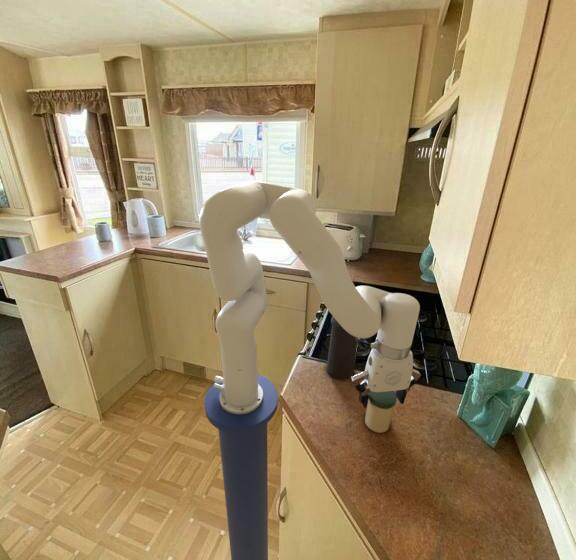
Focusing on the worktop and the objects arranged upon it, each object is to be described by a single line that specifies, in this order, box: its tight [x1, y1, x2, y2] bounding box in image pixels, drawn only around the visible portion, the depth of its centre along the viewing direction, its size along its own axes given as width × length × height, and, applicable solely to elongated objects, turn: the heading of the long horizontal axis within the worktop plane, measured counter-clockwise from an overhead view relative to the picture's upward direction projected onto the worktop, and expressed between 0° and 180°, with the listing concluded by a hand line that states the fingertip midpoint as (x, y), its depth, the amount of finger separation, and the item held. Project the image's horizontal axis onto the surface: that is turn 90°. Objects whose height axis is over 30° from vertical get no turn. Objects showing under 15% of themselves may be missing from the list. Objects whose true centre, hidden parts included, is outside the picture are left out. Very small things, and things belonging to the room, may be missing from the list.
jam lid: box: [368, 391, 398, 409], centre depth 78 cm, size 7×7×2 cm
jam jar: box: [364, 399, 395, 434], centre depth 80 cm, size 6×6×9 cm
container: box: [326, 315, 359, 380], centre depth 95 cm, size 9×9×20 cm
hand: (381, 401), depth 78 cm, fingers open, 9 cm apart
